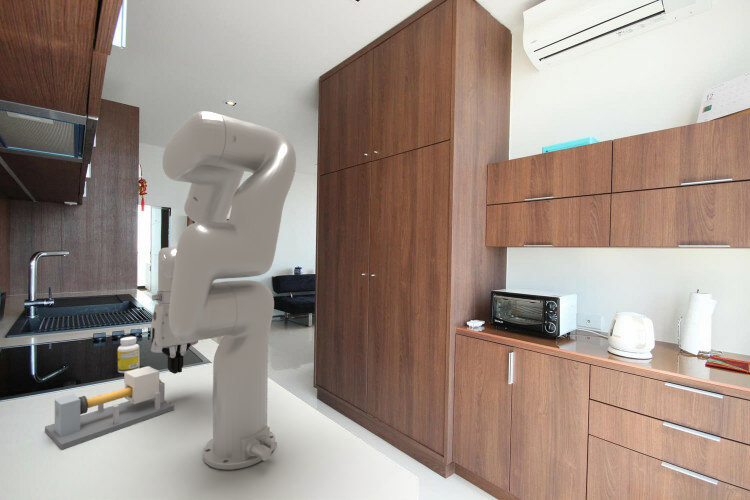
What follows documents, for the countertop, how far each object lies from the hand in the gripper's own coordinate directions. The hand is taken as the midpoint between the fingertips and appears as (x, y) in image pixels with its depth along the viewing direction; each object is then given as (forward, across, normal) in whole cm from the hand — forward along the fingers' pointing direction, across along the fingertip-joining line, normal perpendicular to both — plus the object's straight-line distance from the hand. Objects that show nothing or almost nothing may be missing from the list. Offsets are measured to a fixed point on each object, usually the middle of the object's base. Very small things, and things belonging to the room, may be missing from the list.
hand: (175, 371), depth 88 cm
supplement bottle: (+7, +1, +32) cm, 33 cm away
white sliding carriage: (+4, -7, 0) cm, 8 cm away
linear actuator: (+7, -13, 0) cm, 15 cm away
